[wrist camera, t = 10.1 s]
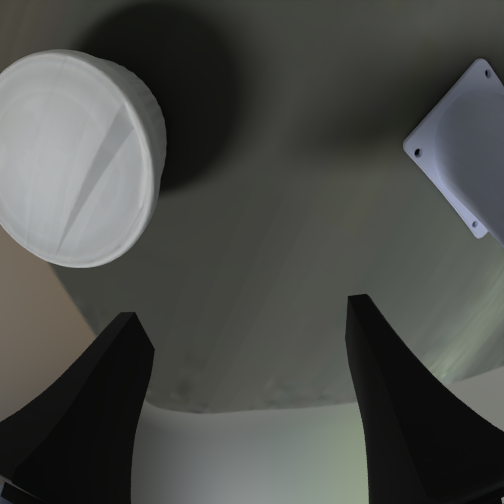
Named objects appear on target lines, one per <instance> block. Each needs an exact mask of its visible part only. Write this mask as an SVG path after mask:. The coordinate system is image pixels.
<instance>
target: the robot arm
mask: <svg viewBox="0 0 504 504" xmlns="http://www.w3.org/2000/svg"><path fill="white" fill-rule="evenodd" d="M486 70H487V72H488V75H487V77H486V75H485V71H486ZM403 149H404V151H405V152H406V153H407V154H408V155H409V156H410V157H411V158H412V160H413V161H414V162H415V163H416V164H417V165H418V166H419V167H420V168H421V169H422V171H423V172H424V173H425V174H426V175H427V176H428V177H429V179H430V180H431V181H432V182H433V183H434V184H435V186H436V187H437V188H438V189H439V190H440V191H441V193H442V194H443V195H444V196H445V198H446V199H447V200H448V201H449V203H450V204H451V205H452V206H453V208H454V209H455V210H456V211H457V213H458V214H459V215H460V217H461V218H462V219H463V221H464V222H465V223H466V225H467V226H468V227H469V229H470V230H471V231H472V233H473V234H474V235H475V237H477V238H481V237H483V236H484V235H485V234H486V233H487V232H488V231H489V232H490V233H491V234H492V235H493V236H494V238H495V239H496V240H497V241H498V242H499V243H500V244H501V245H502V247H503V248H504V86H503V85H502V83H501V81H500V80H499V78H498V77H497V75H496V74H495V72H494V71H493V69H492V68H491V67H490V65H489V64H488V62H487V61H486V60H484V59H481V58H478V59H476V60H475V61H474V62H473V64H472V65H471V66H470V67H469V68H468V69H467V71H466V72H465V73H464V74H463V75H462V76H461V77H460V79H459V80H458V81H457V82H456V83H455V84H454V85H453V87H452V88H451V89H450V90H449V91H448V92H447V93H446V95H445V96H444V97H443V98H442V99H441V100H440V101H439V102H438V104H437V105H436V106H435V107H434V108H433V109H432V110H431V111H430V112H429V114H428V115H427V116H426V117H425V118H424V119H423V120H422V121H421V122H420V124H419V125H418V126H417V127H416V128H415V129H414V130H413V131H412V132H411V133H410V135H409V136H408V137H407V138H406V139H405V140H404V142H403ZM416 149H420V152H419V154H418V155H414V152H415V150H416ZM474 221H475V223H474V224H473V222H474ZM472 224H473V225H472ZM345 341H346V348H347V355H348V362H349V368H350V372H351V376H352V380H353V384H354V388H355V392H356V396H357V400H358V405H359V409H360V413H361V418H362V422H363V428H364V434H365V443H366V455H367V468H368V487H369V488H368V489H369V504H502V500H501V498H502V497H504V432H503V431H502V430H500V429H498V428H497V427H495V426H494V425H492V424H491V423H490V422H488V421H487V420H485V419H484V418H482V417H481V416H480V415H478V414H477V413H476V412H475V411H473V410H472V409H471V408H470V407H468V406H467V405H466V404H465V403H463V402H462V401H461V400H459V399H458V398H457V397H456V396H455V395H454V394H452V393H451V392H450V391H449V390H448V389H447V388H446V387H445V386H444V385H443V384H442V383H441V382H440V381H439V380H438V379H437V378H435V377H434V376H433V375H432V374H431V372H430V371H429V370H428V369H427V368H426V367H425V366H424V365H423V364H422V363H421V362H420V361H419V360H418V358H417V357H416V356H415V355H414V354H413V353H412V352H411V351H410V349H409V348H408V347H407V346H406V345H405V343H404V342H403V341H402V340H401V338H400V337H399V336H398V335H397V333H396V332H395V331H394V330H393V328H392V327H391V326H390V324H389V323H388V322H387V320H386V319H385V318H384V316H383V315H382V314H381V312H380V311H379V310H378V308H377V307H376V305H375V304H374V302H373V301H372V299H371V298H370V296H368V295H367V294H361V295H353V296H348V305H347V320H346V334H345ZM154 351H155V349H154V347H153V345H152V343H151V342H150V340H149V338H148V336H147V334H146V332H145V330H144V329H143V327H142V325H141V323H140V321H139V319H138V317H137V315H136V313H135V312H121V313H120V314H119V315H117V316H116V317H115V318H114V320H113V321H112V322H111V323H110V324H109V325H108V326H107V327H106V328H105V329H104V330H103V331H102V333H101V334H100V335H99V336H98V337H97V338H96V339H95V340H94V341H93V343H92V344H91V345H90V346H89V347H88V348H87V349H86V350H85V351H84V352H83V354H82V355H81V356H80V357H79V358H78V359H77V360H76V361H75V362H74V363H73V364H72V365H71V366H70V367H69V369H67V370H66V371H65V372H64V373H63V374H62V375H61V377H59V378H58V379H57V380H56V381H55V382H54V383H53V384H52V385H51V386H50V387H48V388H47V389H46V390H45V391H44V392H43V393H41V394H40V395H39V396H38V397H36V398H35V399H34V400H32V401H31V402H30V403H28V404H27V405H26V406H24V407H23V408H22V409H21V410H19V411H17V412H16V413H14V414H13V415H11V416H9V417H8V418H6V419H5V420H3V421H1V422H0V479H1V480H3V481H5V483H4V486H2V485H0V504H131V467H132V455H133V446H134V439H135V433H136V428H137V424H138V420H139V416H140V413H141V409H142V405H143V402H144V398H145V395H146V391H147V388H148V384H149V380H150V377H151V372H152V366H153V359H154Z"/></svg>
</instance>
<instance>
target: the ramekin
mask: <svg viewBox="0 0 504 504" xmlns="http://www.w3.org/2000/svg"><path fill="white" fill-rule="evenodd" d="M166 145H167V140H166V128H165V120H164V117H163V115H162V111H161V108H160V106H159V105H158V103H157V100H156V98H155V97H154V96H153V94H152V93H151V91H150V89H149V88H148V87H147V86H146V85H145V84H144V82H143V81H142V80H141V79H140V78H138V77H137V76H136V75H135V74H134V73H133V72H131V71H129V70H127V69H126V68H125V67H123V66H120V65H118V64H116V63H115V62H112V61H108V60H104V59H100V58H96V57H94V56H92V55H89V54H86V53H83V52H79V51H75V50H65V49H57V50H47V51H42V52H37V53H34V54H31V55H28V56H26V57H23V58H21V59H19V60H18V61H16V62H14V63H13V64H12V65H10V66H9V67H8V68H6V69H5V70H4V71H3V72H2V73H1V74H0V224H1V226H2V227H3V228H4V229H5V230H6V231H7V233H8V234H9V235H10V236H11V237H12V238H13V239H15V241H17V242H18V243H19V244H20V245H22V246H23V247H24V248H25V249H27V250H28V251H30V252H31V253H33V254H35V255H36V256H38V257H40V258H42V259H43V260H46V261H48V262H51V263H54V264H57V265H61V266H66V267H75V268H88V267H95V266H99V265H103V264H106V263H108V262H111V261H113V260H114V259H116V258H118V257H120V256H121V255H123V254H124V253H125V252H126V251H128V250H129V249H130V248H131V247H132V246H133V245H134V244H135V242H136V241H137V240H138V239H139V237H140V236H141V234H142V233H143V231H144V230H145V228H146V227H147V225H148V223H149V221H150V219H151V217H152V215H153V213H154V210H155V207H156V203H157V200H158V195H159V189H160V178H161V175H162V172H163V169H164V165H165V158H166Z"/></svg>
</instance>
